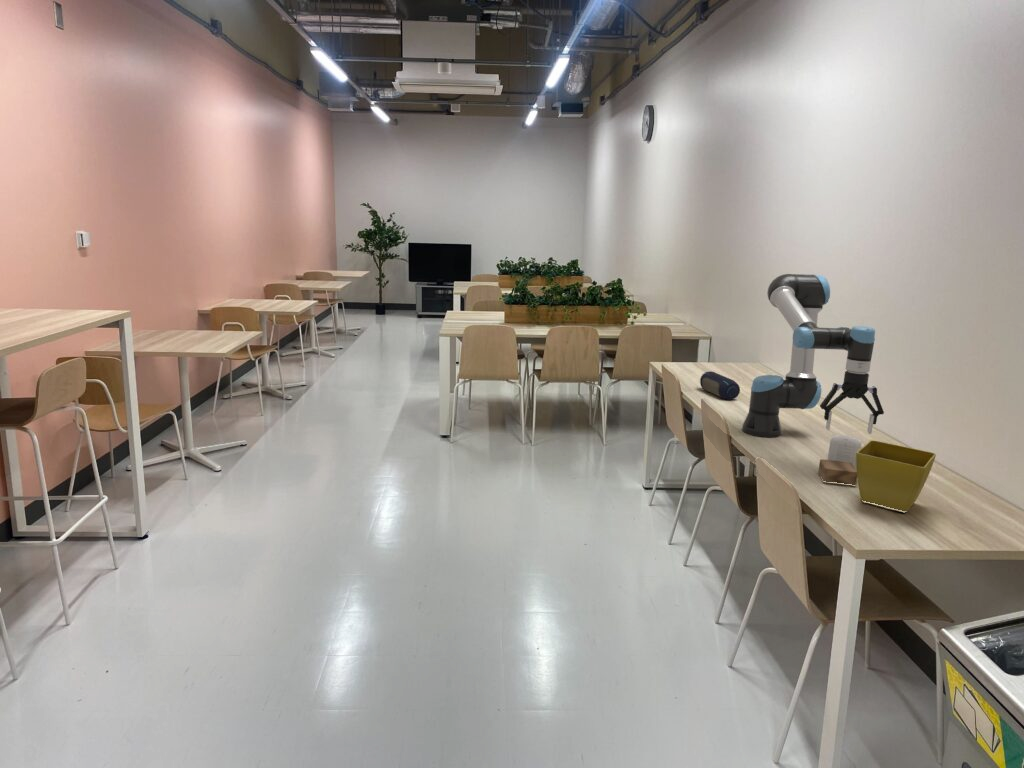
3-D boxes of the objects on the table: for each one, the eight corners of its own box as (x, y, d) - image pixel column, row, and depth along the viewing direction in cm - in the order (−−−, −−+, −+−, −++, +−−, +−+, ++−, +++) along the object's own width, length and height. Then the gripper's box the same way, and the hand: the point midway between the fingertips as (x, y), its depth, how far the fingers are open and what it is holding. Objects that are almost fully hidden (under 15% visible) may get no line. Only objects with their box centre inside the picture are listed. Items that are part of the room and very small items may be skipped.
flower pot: (863, 486, 238) (871, 438, 234) (927, 502, 226) (937, 452, 222) (847, 503, 224) (855, 452, 220) (915, 521, 212) (924, 468, 208)
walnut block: (823, 482, 240) (825, 468, 239) (818, 472, 249) (820, 459, 248) (855, 486, 238) (857, 472, 237) (849, 476, 247) (851, 462, 246)
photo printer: (858, 470, 254) (863, 437, 251) (857, 473, 250) (862, 440, 247) (826, 464, 258) (831, 431, 255) (825, 467, 255) (830, 434, 252)
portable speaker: (695, 389, 363) (697, 370, 361) (713, 388, 366) (715, 369, 364) (722, 402, 340) (725, 381, 338) (741, 401, 343) (743, 381, 340)
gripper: (820, 370, 245) (812, 430, 250) (899, 377, 239) (889, 437, 244) (816, 366, 252) (808, 424, 257) (893, 372, 246) (884, 431, 251)
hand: (848, 431), depth 250 cm, fingers open, 13 cm apart
